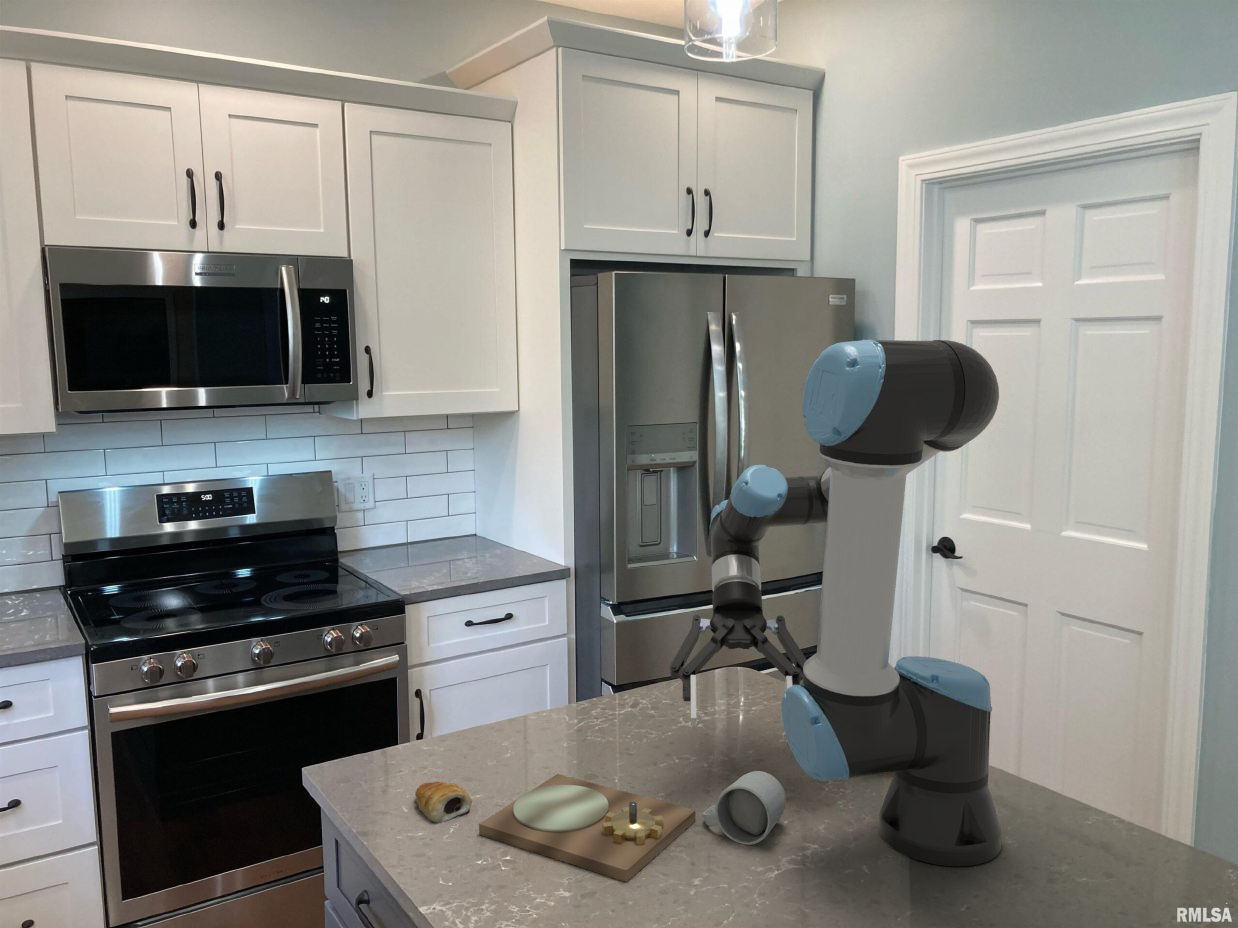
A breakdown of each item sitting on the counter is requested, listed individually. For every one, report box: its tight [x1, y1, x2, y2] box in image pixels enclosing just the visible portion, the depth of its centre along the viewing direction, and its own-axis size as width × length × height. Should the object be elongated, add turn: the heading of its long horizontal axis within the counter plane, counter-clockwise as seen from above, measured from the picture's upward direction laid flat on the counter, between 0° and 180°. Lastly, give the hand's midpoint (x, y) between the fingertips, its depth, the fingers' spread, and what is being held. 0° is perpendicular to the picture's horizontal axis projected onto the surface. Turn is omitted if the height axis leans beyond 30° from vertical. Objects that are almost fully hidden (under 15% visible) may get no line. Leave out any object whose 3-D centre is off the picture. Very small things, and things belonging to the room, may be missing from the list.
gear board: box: [478, 773, 696, 883], centre depth 128 cm, size 23×18×2 cm
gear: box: [602, 802, 664, 845], centre depth 124 cm, size 8×8×4 cm
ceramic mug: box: [702, 770, 787, 846], centre depth 127 cm, size 11×8×8 cm
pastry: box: [414, 781, 473, 823], centre depth 135 cm, size 9×7×4 cm
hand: (742, 722), depth 133 cm, fingers open, 13 cm apart
